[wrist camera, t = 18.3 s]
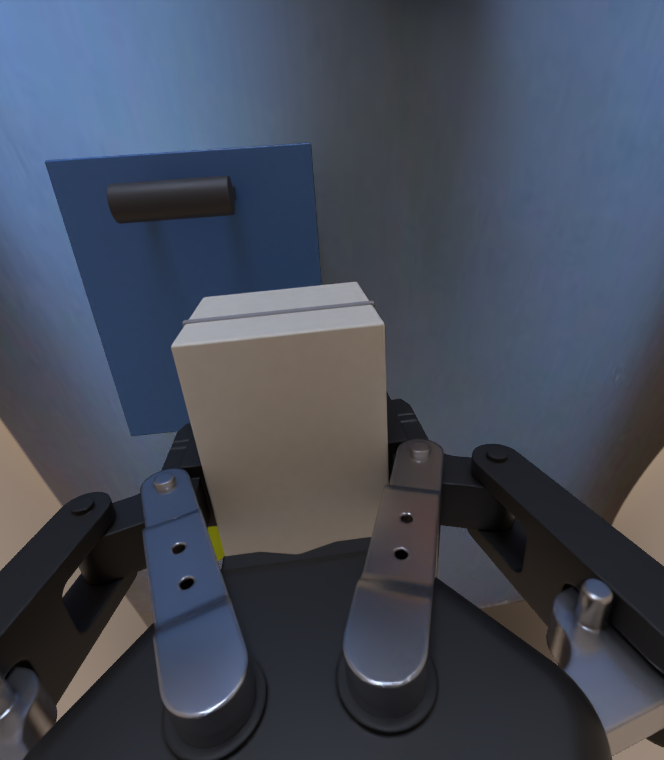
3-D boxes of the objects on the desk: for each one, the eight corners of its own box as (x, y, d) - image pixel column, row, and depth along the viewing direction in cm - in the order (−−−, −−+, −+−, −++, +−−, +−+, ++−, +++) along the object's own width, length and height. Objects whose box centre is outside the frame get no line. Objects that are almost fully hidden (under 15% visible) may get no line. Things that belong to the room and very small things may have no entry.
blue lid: (51, 160, 21) (-8, 157, 17) (310, 143, 22) (315, 135, 17) (134, 429, 28) (107, 476, 23) (330, 409, 28) (338, 450, 24)
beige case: (200, 295, 14) (166, 344, 10) (358, 279, 14) (387, 320, 10) (249, 521, 18) (239, 619, 14) (370, 506, 18) (393, 597, 14)
